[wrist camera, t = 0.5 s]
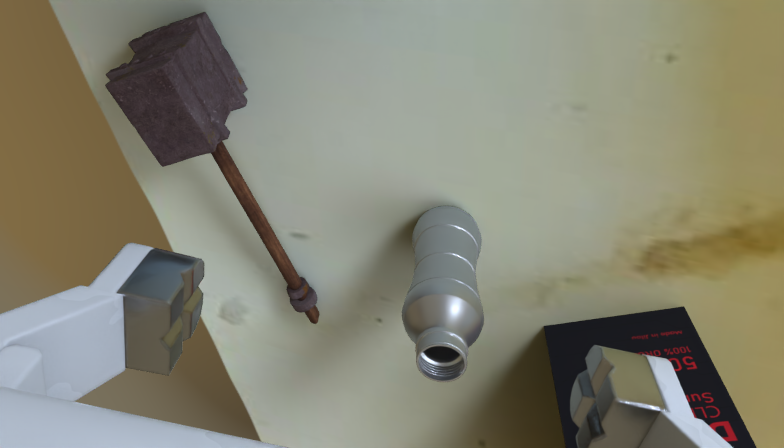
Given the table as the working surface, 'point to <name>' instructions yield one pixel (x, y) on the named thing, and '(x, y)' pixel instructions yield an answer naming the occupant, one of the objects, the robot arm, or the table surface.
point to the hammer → (195, 116)
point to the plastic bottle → (444, 292)
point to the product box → (655, 338)
